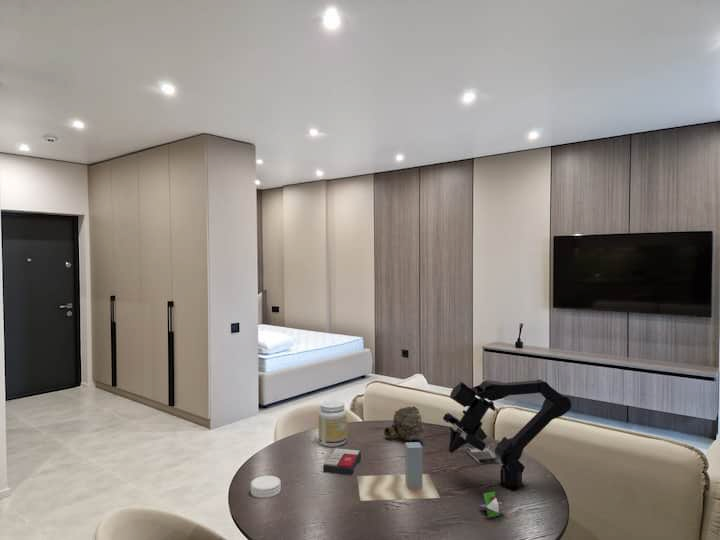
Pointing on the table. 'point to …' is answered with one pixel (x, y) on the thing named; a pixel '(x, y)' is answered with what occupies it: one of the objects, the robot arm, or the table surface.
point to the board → (393, 488)
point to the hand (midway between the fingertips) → (450, 452)
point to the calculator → (342, 461)
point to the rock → (405, 425)
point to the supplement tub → (332, 424)
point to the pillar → (413, 465)
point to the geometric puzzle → (491, 504)
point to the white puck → (265, 486)
